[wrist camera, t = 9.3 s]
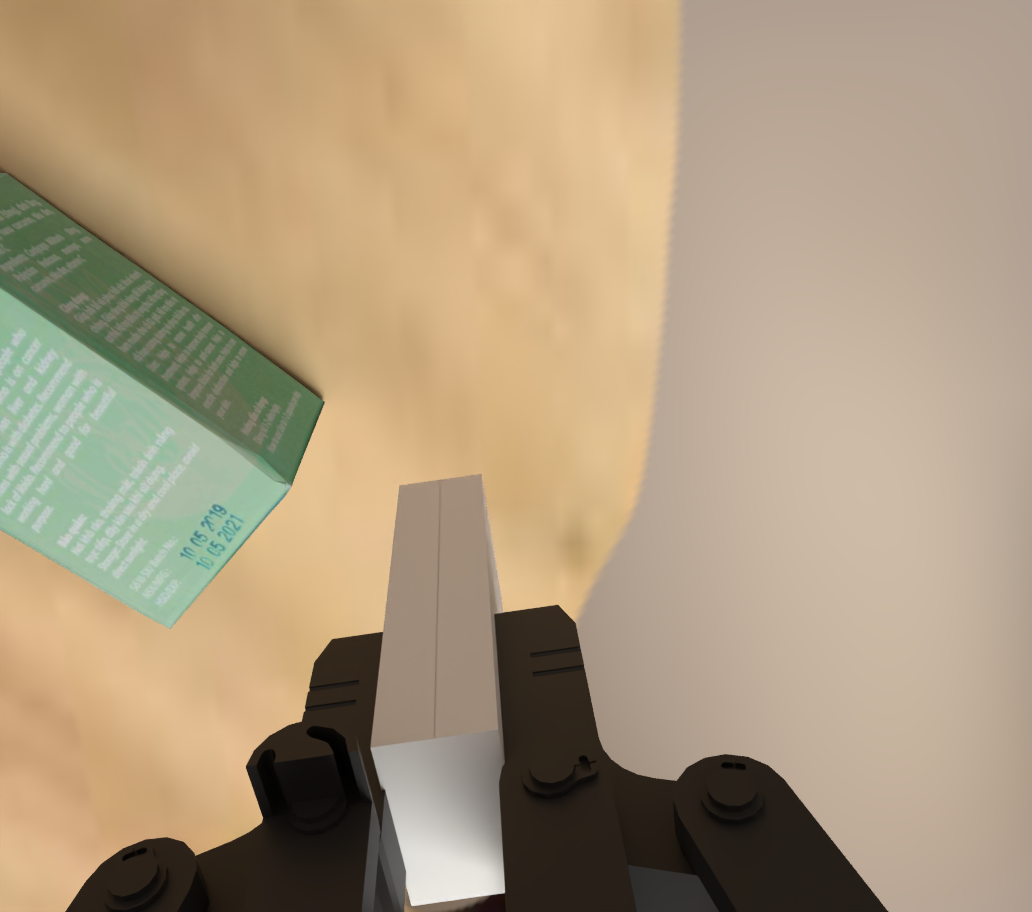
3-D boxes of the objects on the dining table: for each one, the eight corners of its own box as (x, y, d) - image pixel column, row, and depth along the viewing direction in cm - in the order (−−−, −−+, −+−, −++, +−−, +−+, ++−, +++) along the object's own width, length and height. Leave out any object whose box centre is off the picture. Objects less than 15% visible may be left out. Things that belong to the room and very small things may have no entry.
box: (-5, 158, 31) (-134, 201, 24) (331, 394, 35) (301, 487, 28) (-102, 322, 33) (-246, 404, 26) (225, 525, 37) (174, 639, 31)
